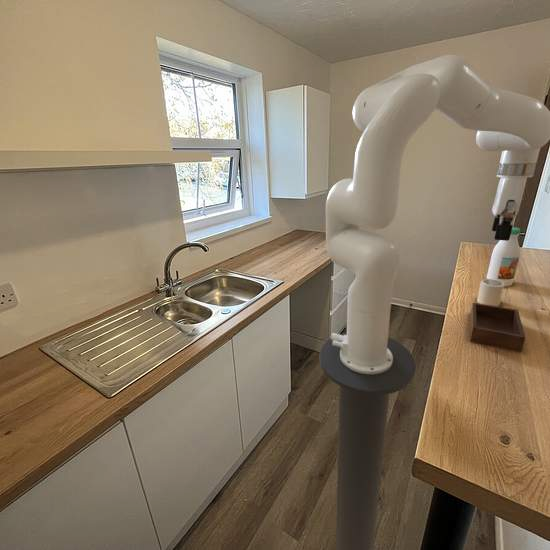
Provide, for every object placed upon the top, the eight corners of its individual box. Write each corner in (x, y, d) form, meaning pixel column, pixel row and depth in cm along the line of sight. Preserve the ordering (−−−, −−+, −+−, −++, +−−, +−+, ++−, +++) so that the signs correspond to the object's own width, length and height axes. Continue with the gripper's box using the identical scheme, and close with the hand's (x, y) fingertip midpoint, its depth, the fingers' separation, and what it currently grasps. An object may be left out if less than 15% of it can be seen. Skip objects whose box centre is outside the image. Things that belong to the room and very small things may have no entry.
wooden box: (470, 341, 79) (473, 327, 77) (470, 315, 90) (472, 302, 88) (521, 352, 73) (525, 337, 72) (514, 322, 85) (517, 309, 83)
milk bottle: (485, 284, 107) (497, 230, 99) (486, 276, 113) (498, 224, 105) (512, 288, 103) (527, 232, 95) (512, 280, 109) (526, 226, 101)
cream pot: (477, 304, 95) (481, 284, 92) (476, 296, 100) (480, 277, 97) (500, 308, 92) (505, 287, 89) (498, 300, 97) (503, 280, 94)
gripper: (495, 168, 86) (482, 227, 92) (500, 173, 72) (485, 242, 79) (528, 168, 82) (512, 229, 89) (540, 173, 69) (521, 245, 75)
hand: (499, 235), depth 84 cm, fingers open, 9 cm apart
